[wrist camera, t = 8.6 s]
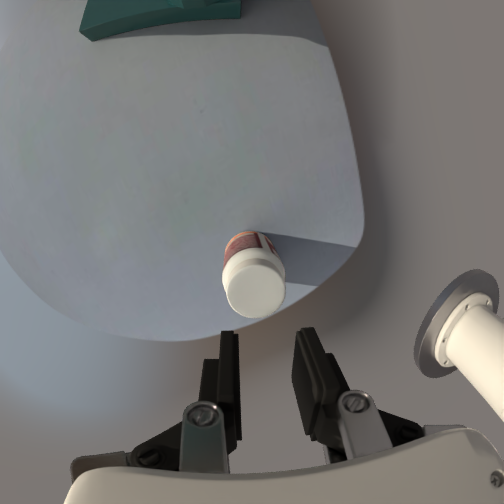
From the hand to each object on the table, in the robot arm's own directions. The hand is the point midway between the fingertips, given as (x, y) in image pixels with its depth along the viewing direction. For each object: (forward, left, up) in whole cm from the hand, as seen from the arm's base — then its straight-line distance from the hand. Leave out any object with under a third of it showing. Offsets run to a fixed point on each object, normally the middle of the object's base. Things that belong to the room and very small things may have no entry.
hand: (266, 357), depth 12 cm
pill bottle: (0, 0, -15) cm, 15 cm away
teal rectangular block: (+9, -30, -15) cm, 35 cm away
